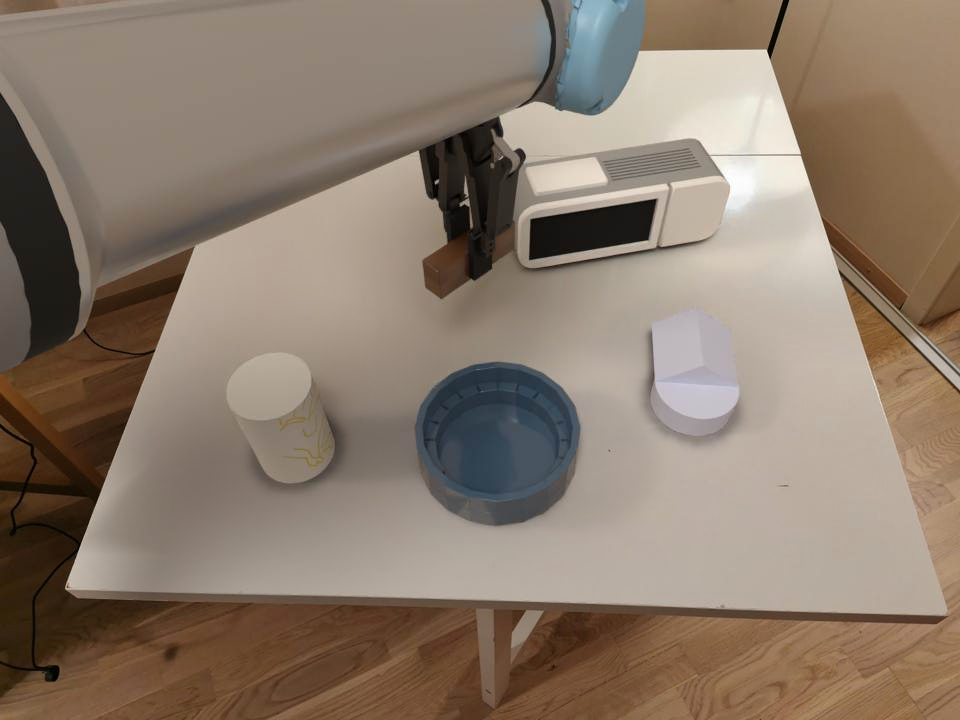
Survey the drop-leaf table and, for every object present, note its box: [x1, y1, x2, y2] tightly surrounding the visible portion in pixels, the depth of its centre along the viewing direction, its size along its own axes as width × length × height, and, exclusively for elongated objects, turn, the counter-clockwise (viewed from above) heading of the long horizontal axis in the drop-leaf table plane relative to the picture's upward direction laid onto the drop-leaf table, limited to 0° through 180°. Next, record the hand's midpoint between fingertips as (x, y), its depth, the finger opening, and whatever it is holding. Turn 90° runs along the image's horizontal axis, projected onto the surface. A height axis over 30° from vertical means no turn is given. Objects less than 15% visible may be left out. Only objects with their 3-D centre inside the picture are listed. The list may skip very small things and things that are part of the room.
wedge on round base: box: [649, 306, 740, 437], centre depth 78 cm, size 9×7×13 cm
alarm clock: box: [513, 137, 731, 269], centre depth 92 cm, size 27×9×12 cm, turn 102°
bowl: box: [414, 361, 581, 527], centre depth 74 cm, size 17×17×6 cm
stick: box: [421, 220, 515, 300], centre depth 75 cm, size 11×3×4 cm, turn 134°
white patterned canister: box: [225, 352, 336, 484], centre depth 73 cm, size 8×8×12 cm
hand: (470, 265), depth 76 cm, fingers closed on stick, 3 cm apart
